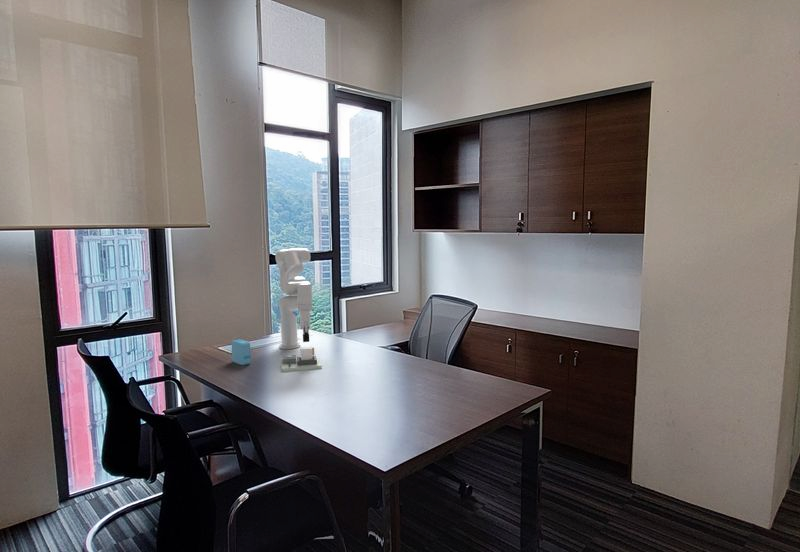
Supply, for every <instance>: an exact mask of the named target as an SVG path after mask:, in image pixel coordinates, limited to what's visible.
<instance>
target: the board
mask: <svg viewBox="0 0 800 552" xmlns="http://www.w3.org/2000/svg"><path fill="white" fill-rule="evenodd" d="M281 357H282V358H281V359H282V360H281V372H282V373H283V372H294V371H295V370H297V371H307V370H308V369H309V370H319V369H322V367H323V366H322V363H321V359H320V357H317V356H316V355H313V359H310V360H301V356H298V357H297V355H296V354H293V355H283V356H281Z"/></svg>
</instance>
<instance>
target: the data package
mask: <svg viewBox="0 0 800 552" xmlns="http://www.w3.org/2000/svg"><path fill="white" fill-rule="evenodd" d="M230 345H231V359H232V362H233V363H235V364H237V365H241V366H245V365H249V364H251V362H252V358H251V357H252V356H251V353H252V352H251V343H250V342H249V341H248V340H244V339H239V338H238V339H235V340H232V341H231V344H230Z"/></svg>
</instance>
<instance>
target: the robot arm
mask: <svg viewBox="0 0 800 552" xmlns="http://www.w3.org/2000/svg"><path fill="white" fill-rule="evenodd" d="M274 258H275V262H276V265H277V267H278V270H279V287H280V292H281V293H283V294H285V295H282V296H280V297H279V298H278V301H277V302H278V307H279V308H278V309H279V314H280V332H281V333H280V334H281V335H280V336H281V337H280V339H281V344H279V345H278V348H279V349H282V350H292V349H293V350H294V349H298V348H301V343H299V342H298V340H299V338H298V319H297V316H296V314H295V313H293V312H294V311H299V329H300V330H301V331H302V342H303V343H308V342H310V332H309V330H310V329H311V311H312V310H313V291H312V284H311V283H310V281H307V279H306V278H305V277H304V276H300V275H302V274H303V272H304V265H303V264H309V263H310V261H311V253H310V250H309V249H308V248H305V247H304V248H301V247H300V248H289V249H280V250H278V251H276V252H275V257H274Z"/></svg>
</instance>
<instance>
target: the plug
mask: <svg viewBox="0 0 800 552" xmlns="http://www.w3.org/2000/svg"><path fill="white" fill-rule="evenodd" d="M299 348H300V357H301V360H310V359H313V356H315V347H314V346H303V347H301V346H300V347H299Z"/></svg>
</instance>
